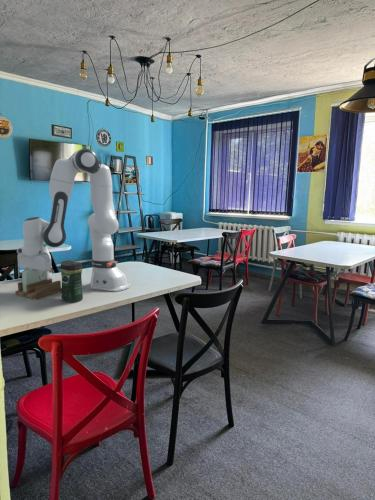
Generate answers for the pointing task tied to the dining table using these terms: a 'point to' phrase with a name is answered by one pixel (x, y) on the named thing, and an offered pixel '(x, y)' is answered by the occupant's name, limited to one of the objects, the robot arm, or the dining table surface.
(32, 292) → the rack
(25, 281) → the tall mint green block
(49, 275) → the milk bottle
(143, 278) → the dining table surface
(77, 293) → the coffee jar
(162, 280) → the dining table surface
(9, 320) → the dining table surface
